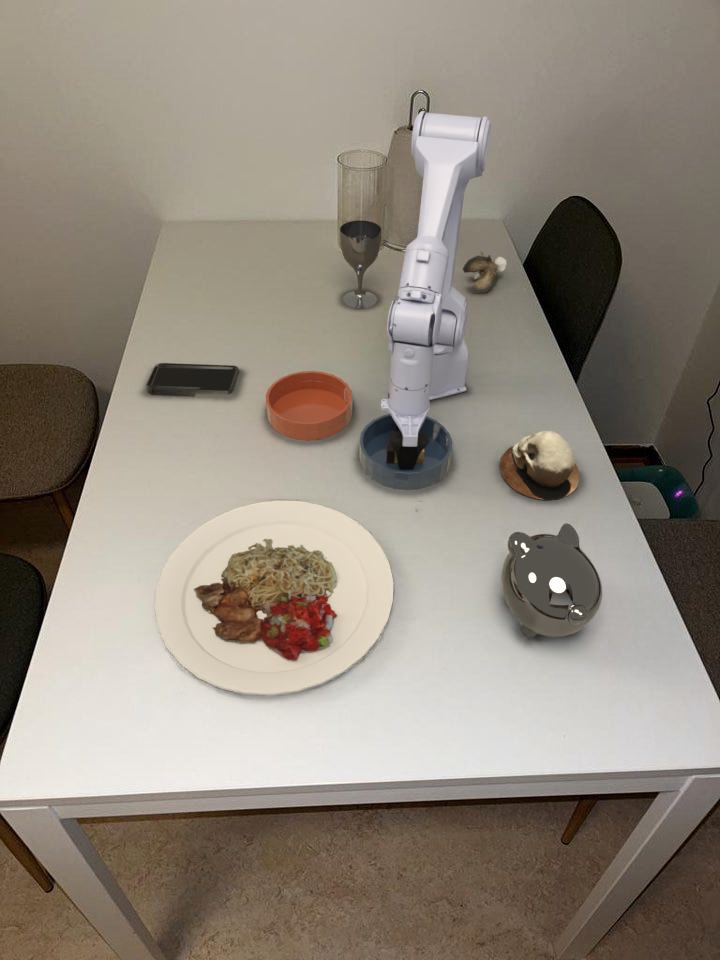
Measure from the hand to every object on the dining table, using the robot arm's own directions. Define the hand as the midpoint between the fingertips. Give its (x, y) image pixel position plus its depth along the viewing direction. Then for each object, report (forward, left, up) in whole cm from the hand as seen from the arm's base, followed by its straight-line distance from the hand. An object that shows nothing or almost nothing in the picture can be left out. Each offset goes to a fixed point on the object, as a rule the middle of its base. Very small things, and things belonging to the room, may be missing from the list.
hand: (405, 451), depth 106 cm
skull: (-18, +10, -2) cm, 21 cm away
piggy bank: (-4, +32, -2) cm, 32 cm away
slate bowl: (0, 0, -2) cm, 2 cm away
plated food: (+26, +17, -2) cm, 31 cm away
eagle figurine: (-39, -45, -2) cm, 60 cm away
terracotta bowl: (+10, -16, -2) cm, 19 cm away
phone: (+26, -32, -2) cm, 41 cm away
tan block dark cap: (0, 0, -1) cm, 1 cm away
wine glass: (-12, -48, -2) cm, 50 cm away
